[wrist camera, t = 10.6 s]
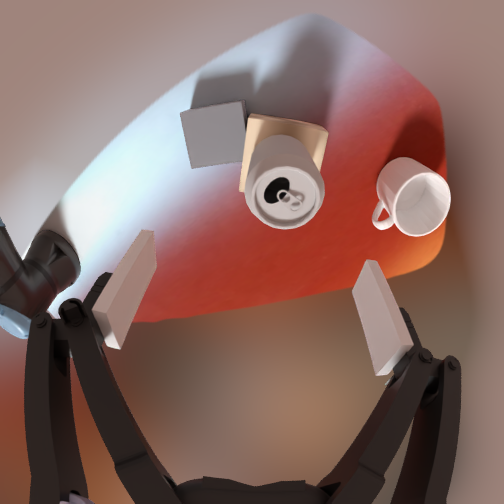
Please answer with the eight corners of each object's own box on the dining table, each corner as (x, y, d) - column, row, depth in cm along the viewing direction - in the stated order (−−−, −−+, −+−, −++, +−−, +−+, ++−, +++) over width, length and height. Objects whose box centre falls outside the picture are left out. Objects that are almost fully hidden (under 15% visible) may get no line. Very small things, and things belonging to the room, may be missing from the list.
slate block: (199, 158, 39) (191, 168, 35) (190, 109, 35) (179, 112, 30) (252, 151, 38) (250, 160, 34) (244, 99, 34) (241, 101, 30)
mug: (416, 144, 35) (442, 160, 28) (432, 196, 40) (455, 218, 33) (349, 179, 40) (364, 201, 33) (372, 229, 44) (387, 256, 38)
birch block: (242, 176, 41) (238, 191, 36) (251, 113, 35) (248, 117, 30) (306, 186, 41) (312, 202, 36) (320, 125, 35) (328, 132, 30)
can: (274, 121, 30) (277, 140, 20) (321, 157, 32) (345, 194, 22) (239, 167, 34) (226, 207, 24) (285, 198, 36) (291, 249, 26)
